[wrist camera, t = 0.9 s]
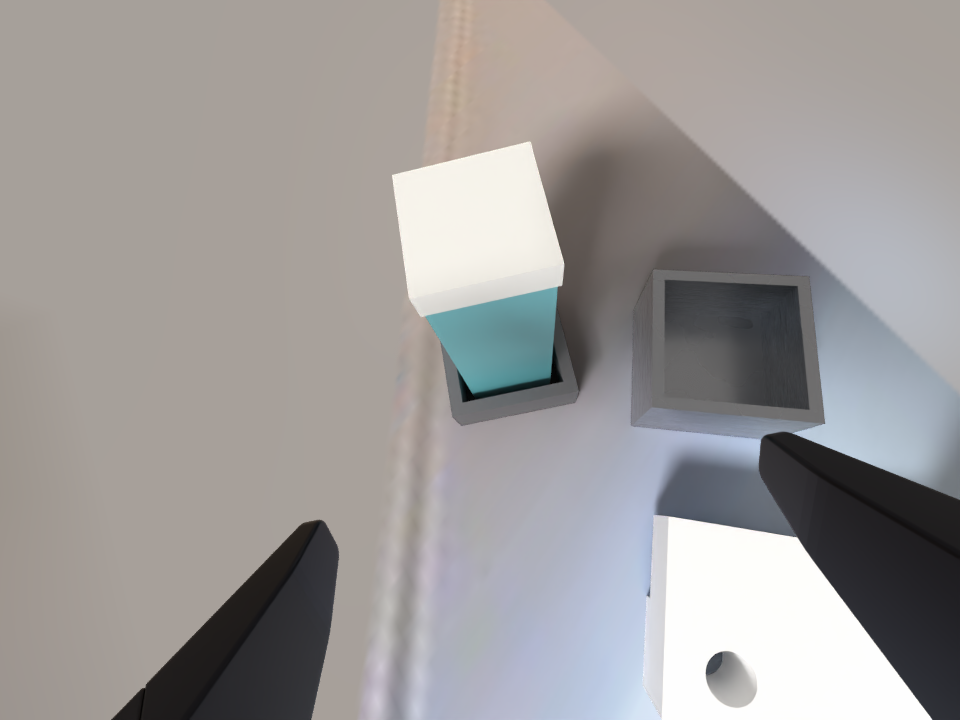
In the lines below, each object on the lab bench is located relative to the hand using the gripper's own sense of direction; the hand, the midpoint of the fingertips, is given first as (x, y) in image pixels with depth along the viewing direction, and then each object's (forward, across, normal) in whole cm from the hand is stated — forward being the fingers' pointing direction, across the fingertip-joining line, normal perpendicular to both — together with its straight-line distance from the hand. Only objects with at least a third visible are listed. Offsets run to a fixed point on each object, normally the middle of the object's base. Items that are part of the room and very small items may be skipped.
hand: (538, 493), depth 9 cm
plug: (+15, 0, +5) cm, 16 cm away
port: (+13, -9, +6) cm, 17 cm away
